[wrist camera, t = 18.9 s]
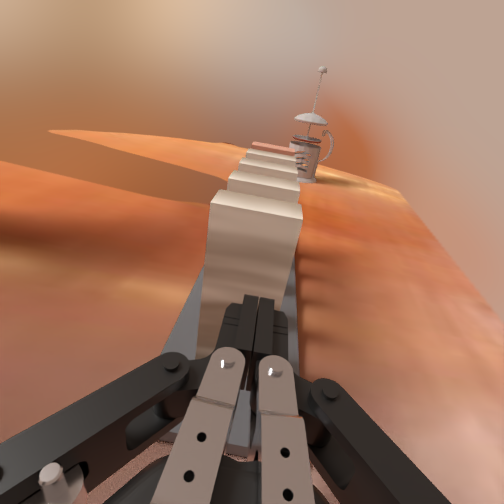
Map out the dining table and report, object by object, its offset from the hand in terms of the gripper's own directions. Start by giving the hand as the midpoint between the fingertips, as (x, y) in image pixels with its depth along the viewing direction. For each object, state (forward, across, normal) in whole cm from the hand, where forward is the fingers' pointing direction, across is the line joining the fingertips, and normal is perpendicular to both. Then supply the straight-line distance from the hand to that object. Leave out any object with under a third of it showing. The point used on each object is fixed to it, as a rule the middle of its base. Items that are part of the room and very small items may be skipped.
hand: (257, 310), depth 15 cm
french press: (+68, +7, -10) cm, 69 cm away
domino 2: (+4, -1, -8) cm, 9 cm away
